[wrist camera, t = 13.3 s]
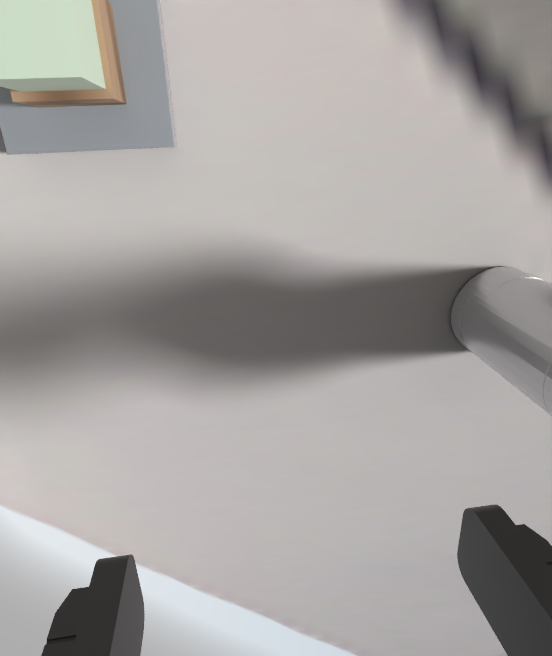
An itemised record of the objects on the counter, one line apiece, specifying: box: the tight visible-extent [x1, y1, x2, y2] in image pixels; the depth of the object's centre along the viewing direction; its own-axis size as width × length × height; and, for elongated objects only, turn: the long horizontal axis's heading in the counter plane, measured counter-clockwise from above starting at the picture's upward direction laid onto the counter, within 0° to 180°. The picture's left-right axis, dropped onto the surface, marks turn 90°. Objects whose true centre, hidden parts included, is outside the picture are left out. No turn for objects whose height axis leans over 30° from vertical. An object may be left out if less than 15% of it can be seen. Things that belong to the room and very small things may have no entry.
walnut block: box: [10, 0, 127, 108], centre depth 30 cm, size 6×6×5 cm
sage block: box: [0, 0, 106, 92], centre depth 24 cm, size 5×5×6 cm
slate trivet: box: [0, 0, 177, 155], centre depth 33 cm, size 12×12×3 cm
